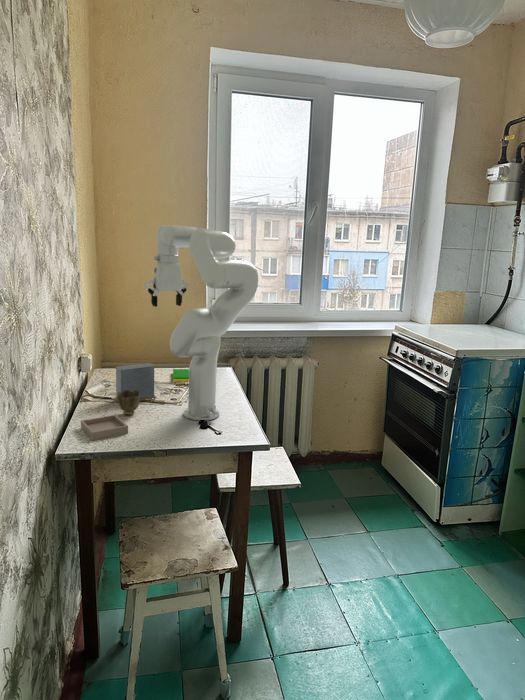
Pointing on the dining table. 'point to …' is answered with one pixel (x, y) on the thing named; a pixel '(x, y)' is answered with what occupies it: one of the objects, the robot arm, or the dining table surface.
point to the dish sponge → (180, 375)
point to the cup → (128, 401)
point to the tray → (104, 427)
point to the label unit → (136, 380)
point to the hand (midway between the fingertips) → (166, 305)
